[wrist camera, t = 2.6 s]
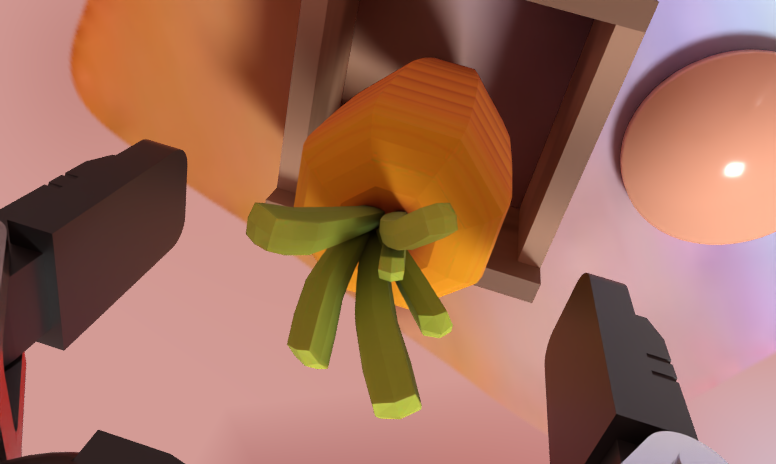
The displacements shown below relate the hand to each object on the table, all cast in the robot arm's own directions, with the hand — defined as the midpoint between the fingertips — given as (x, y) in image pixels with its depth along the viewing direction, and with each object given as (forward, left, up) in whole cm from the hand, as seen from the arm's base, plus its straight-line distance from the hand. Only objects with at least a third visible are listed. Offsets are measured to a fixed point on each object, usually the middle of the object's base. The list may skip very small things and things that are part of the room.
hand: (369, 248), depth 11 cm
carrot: (0, 0, -12) cm, 12 cm away
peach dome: (-1, +10, -12) cm, 16 cm away
